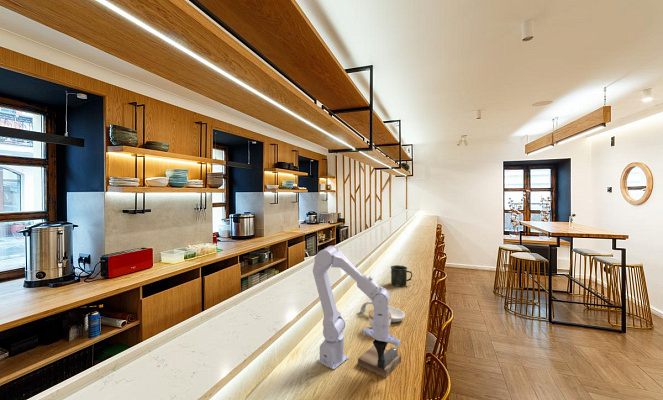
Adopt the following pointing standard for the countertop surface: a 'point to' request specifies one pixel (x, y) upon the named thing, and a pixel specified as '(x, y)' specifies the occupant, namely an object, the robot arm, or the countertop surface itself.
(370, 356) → the stool seat
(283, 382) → the countertop surface
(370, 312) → the lidded jar
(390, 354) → the folding leg
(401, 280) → the mug
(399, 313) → the spoon rest
